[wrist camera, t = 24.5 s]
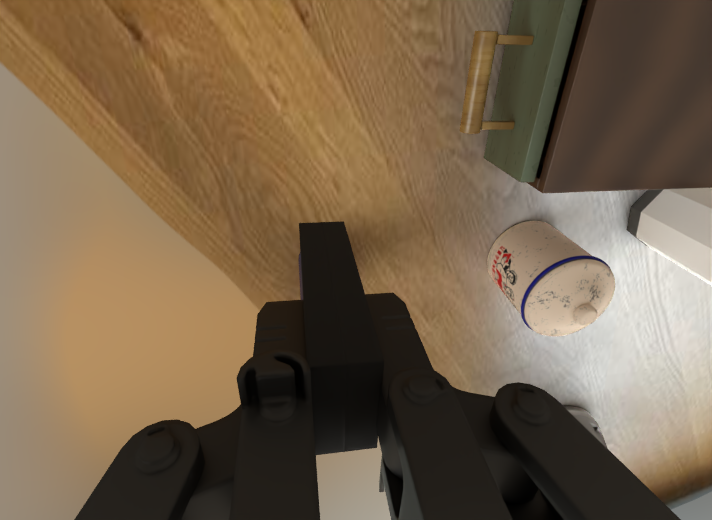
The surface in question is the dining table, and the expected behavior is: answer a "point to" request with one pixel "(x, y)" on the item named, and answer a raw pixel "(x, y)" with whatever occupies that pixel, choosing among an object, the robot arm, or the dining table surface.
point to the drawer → (523, 83)
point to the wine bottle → (677, 227)
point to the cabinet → (635, 101)
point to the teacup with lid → (550, 278)
